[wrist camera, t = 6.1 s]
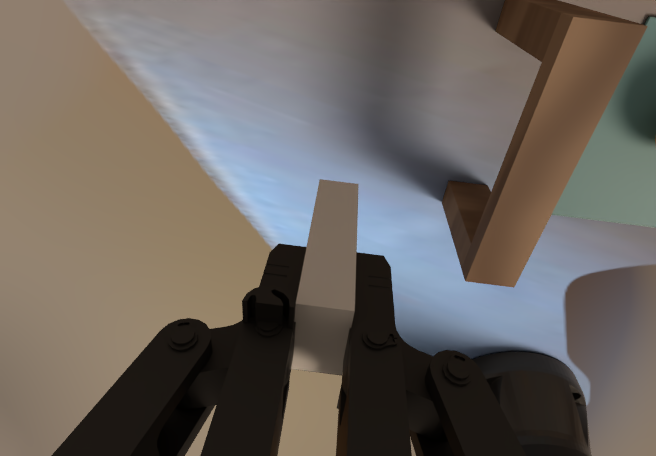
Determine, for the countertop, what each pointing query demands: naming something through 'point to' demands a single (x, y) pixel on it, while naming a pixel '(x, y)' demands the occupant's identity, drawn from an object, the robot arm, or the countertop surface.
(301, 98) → the countertop surface
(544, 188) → the bridge
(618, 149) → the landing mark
